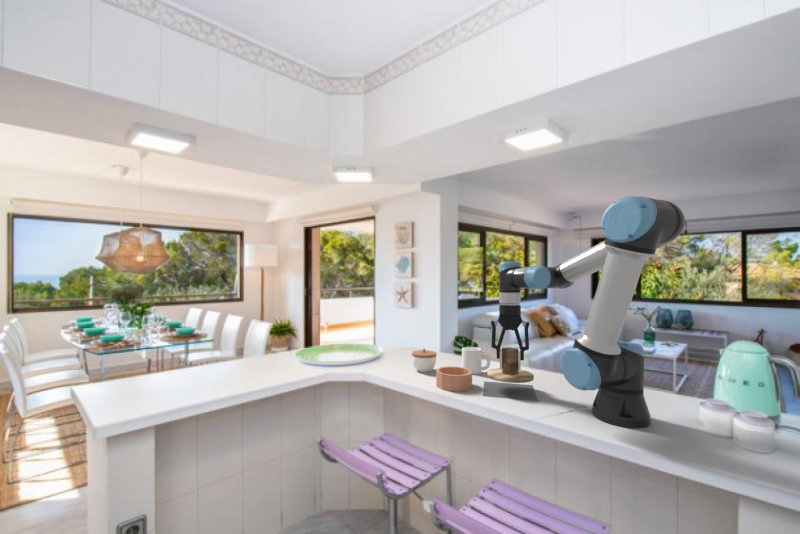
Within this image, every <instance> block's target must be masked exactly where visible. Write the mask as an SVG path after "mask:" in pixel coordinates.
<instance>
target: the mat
mask: <svg viewBox="0 0 800 534" xmlns="http://www.w3.org/2000/svg"><path fill="white" fill-rule="evenodd" d="M482 391H483V392H482V396H483V397H491V398H499V399H500V398H501V399H510V400H521V401H523V400H524V401H534V402H535V401H536V402H538V401H539V399H538V396H537V393H536V391H535V388H534V386H533V385H532V384H524V383H523V384H522V383H509V382H500V381H486V380H484V381H483V390H482Z"/></svg>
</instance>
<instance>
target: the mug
mask: <svg viewBox="0 0 800 534" xmlns="http://www.w3.org/2000/svg"><path fill="white" fill-rule="evenodd" d="M482 357H484V358H485V359H486V365H485V366H482ZM490 366H491V358H490V357H489V355H488V354H487V353H485V352H482V348H480V347H476V346H464V347H461V367H462V368H466V369H469V370H471V371H472V375H479V374H481V373H482V371H486V370H487V369H489V368H490Z"/></svg>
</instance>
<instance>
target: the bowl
mask: <svg viewBox="0 0 800 534" xmlns="http://www.w3.org/2000/svg"><path fill="white" fill-rule="evenodd" d="M435 374H436V376H435V382H436V383H435V386H436V387H437V388H439V389H440V390H442V391H443V390H444V391H448V392H464V391H465V392H466V391H469V390H471V389H472V388H473V374H472V371H471V370H469V369H466V368H462V366H448V365H447V366H441V367H438V368H437V369H436V373H435Z"/></svg>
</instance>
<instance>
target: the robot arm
mask: <svg viewBox="0 0 800 534" xmlns="http://www.w3.org/2000/svg"><path fill="white" fill-rule="evenodd" d="M677 205H678V204H677ZM677 205H676V204H675V203H673V202H671V201H668V200H662V199H656V198H650V197H647V196H637V195H636V196H635V195H628V196H623V197H621V198H618V199H616V200H615V201H613V202H612V203H611V204H609V205H608V207H607V208H606V209H605V211H604V213H603V215H602V217H601V223H600V226H601V229H602V230H603V231H602V233H603V234H604V236H605V239H604V240H603V241H601V242H600V243H598V244H596V245H593V246H592V247H590V248H588V249H586V250H584V251H582V252H581V253H578V254H576V255H574V256H573V257H570V258H569V259H567V260H565V261H563V262H561V263H559V264H557V265H555V266H543V265H542V266H541V265H540V266H539V265H532V266H522V265H521V262H519V261H502V262H500V263H499V265H498V267H499V268H498V282H499V283H498V284H499V285H498V286H499V287H498V289H499V291H498V300H499V301H498V302H499V305H498V310H499V311H498V314H499V316H498V318H497V319H495V320H493V319H492V320H491V321H490V324H491V329H492V331H491V348H492V349H495V350H496V359H498V360H499V368H500V369H502V348H501V346H502V343H503V341H504V337H505V334H506V331H514V334H515V337H516V340H517V344H518V346H519V349H518V370H522V369H521V368H522V367H521V361H524V360H525V352H526V351H529V349H530V341H529V327H530V321H525V320H523V319H522V315H521V314H522V307H521V302H522V300H521V299H522V297H521V296H522V291H521V290H522V289H533V290H543V289H558V290H559V289H563V290H564V289H568V288H571V287H572V286H573V285H574V284H575V283H576V281H578V280H581V279H583V278H585V277H587V276H589V275H592V274H594V273H596V272H598V271H600V270H601V275H600V277H599V281H598V284H597V287H596V291H595V294H594V296H593V301H592V304H591V307H590V309H589V310H590V311H589V314H588V317H587V319H586V324H585V327H584V330H583V332H581V333H579V334H576V336H575V338H574V339H575V340H574V342H573V344H572V347H570V348H568V349H565V350H564V351H563V352H562V354H561V356H560V361H559V363H560V365H559V366H560V369H561V373H562V374H563V376H564V379H565V380H566V381H567V383H568V384H570V385H571V386H572V387H574V388H575V389H577V390H580V391H584V392H585V391H596V390H597V392H596V395H595V398H594V400H593V403H592V405H591V408H592V409H591V410H592V412H591V413H592V414H591V415H593V416H594V417H595V418H597V419H598V420H600V421H603V422H604V423H608V424H610V425H616V426H620V427H623V428H624V427H625V428H636V429H638V428H646V427H649V426H651V421H652V420H651V419H652V418H651V417H652V416H651V413H650V411H649V407H648V405H647V401H646V399H645V398H646V397H645V395H644V394H645V393H644V390H645V389H644V387H645V386H644V385H645V353H644V352H645V351H644V347H643V345H641V344H639V343H635V342H630V341H624V340H619V338H620V337H621V336H620V335H621V332H622V329H623V326H624V324H625V321H626V318H627V315H628V312H629V309H630V306H631V303H632V300H633V297H634V295H635V291H636V289H637V285H638V282H639V279H640V276H641V275H642V274H641V273H642V270H643V269H644V268H643V267H644V264H645V262H646V260H647V259H650V258H651V257H653V256H655V253H656V250H657V249H659V248H661V247H664V246H666V245H668V244H670V243H672V242H673V241H675V240H676V239H677V238H678V237H680V235H682V233H683V231H684V229H685V224H686V218H685V215H684V214H685V213H684V212H683V210H682V209H681V208H680V207H679V206H677ZM498 323H499V325H500V326H501V327H502V329H501V332H500V335H499V339H498V342H497V344H496V340H497V339H496V337H497V336H496V335H497V326H498ZM521 324H522V327H523V328H524V344H525V345H523V341H522V338H521V335H520V331H519V329H518V328H519V327H520V325H521Z"/></svg>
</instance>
